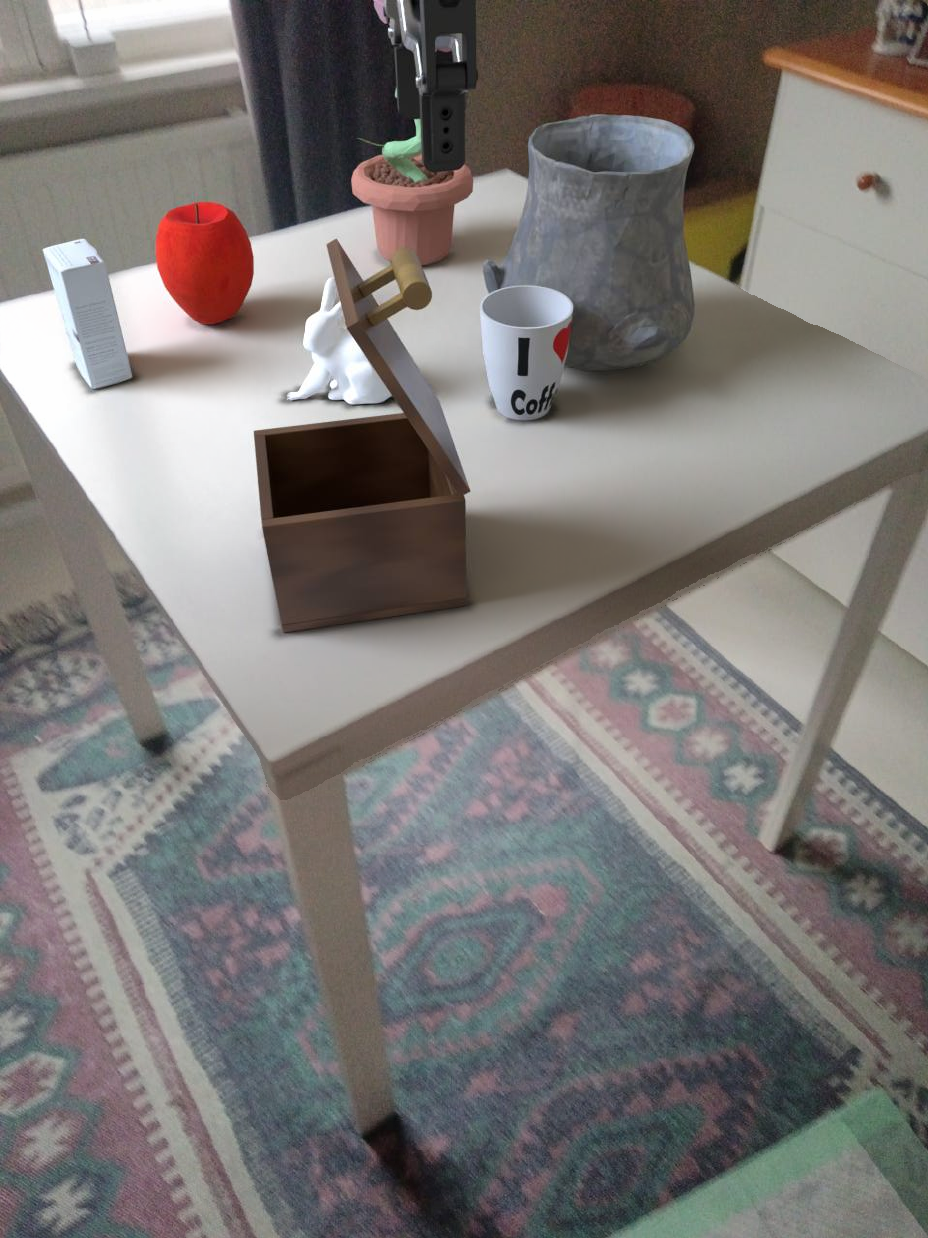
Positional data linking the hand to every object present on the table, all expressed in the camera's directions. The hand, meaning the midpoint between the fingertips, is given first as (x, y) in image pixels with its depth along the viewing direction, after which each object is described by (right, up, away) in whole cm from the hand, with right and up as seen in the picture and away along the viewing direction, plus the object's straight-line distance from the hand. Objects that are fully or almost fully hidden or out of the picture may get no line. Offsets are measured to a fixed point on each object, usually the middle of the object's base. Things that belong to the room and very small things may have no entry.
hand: (429, 141), depth 55 cm
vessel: (+15, +1, +45) cm, 48 cm away
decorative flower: (-3, +16, +61) cm, 64 cm away
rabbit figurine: (-9, -4, +40) cm, 41 cm away
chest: (-6, -23, +21) cm, 31 cm away
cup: (+7, -7, +37) cm, 39 cm away
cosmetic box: (-34, -2, +42) cm, 54 cm away
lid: (-3, -11, +10) cm, 15 cm away
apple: (-25, +5, +50) cm, 56 cm away
